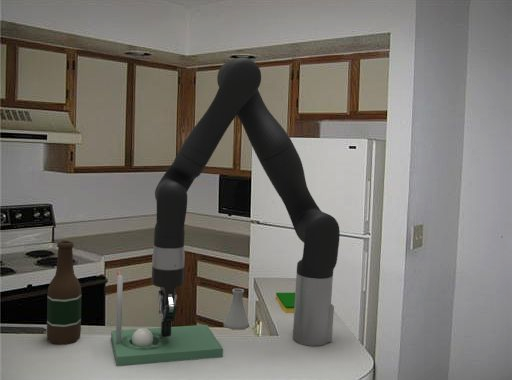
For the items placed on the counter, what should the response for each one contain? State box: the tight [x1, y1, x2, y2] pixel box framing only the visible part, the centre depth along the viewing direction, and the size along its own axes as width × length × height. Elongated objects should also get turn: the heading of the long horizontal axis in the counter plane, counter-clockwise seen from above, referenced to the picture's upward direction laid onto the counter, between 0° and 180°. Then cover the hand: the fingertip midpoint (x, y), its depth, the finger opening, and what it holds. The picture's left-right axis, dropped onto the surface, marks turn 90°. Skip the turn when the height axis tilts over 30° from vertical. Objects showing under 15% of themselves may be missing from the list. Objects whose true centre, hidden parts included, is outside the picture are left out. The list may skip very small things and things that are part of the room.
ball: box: [132, 327, 153, 347], centre depth 132 cm, size 5×5×5 cm
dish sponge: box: [275, 292, 295, 314], centre depth 171 cm, size 7×14×2 cm, turn 10°
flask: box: [223, 288, 250, 331], centre depth 151 cm, size 7×7×10 cm
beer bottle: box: [46, 240, 82, 345], centre depth 135 cm, size 8×8×24 cm
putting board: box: [110, 269, 224, 367], centre depth 133 cm, size 24×16×18 cm, turn 109°
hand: (165, 335), depth 134 cm, fingers closed
